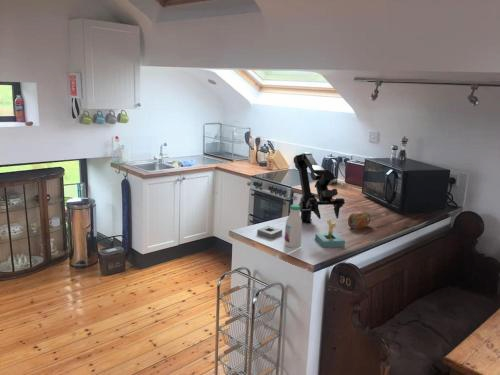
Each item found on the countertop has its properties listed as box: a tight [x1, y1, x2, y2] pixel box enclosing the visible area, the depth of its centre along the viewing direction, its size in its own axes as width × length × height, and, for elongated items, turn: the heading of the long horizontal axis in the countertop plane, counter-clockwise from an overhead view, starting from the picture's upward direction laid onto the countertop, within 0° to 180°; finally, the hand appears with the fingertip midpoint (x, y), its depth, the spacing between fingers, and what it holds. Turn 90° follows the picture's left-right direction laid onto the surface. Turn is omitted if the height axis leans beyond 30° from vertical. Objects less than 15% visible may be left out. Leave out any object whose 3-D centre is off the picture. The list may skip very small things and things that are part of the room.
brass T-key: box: [327, 219, 337, 239], centre depth 211 cm, size 6×2×10 cm, turn 12°
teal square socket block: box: [314, 232, 346, 248], centre depth 212 cm, size 11×11×3 cm
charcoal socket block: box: [256, 225, 283, 240], centre depth 218 cm, size 9×9×3 cm
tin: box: [347, 211, 371, 230], centre depth 237 cm, size 15×3×8 cm, turn 122°
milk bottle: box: [284, 204, 303, 249], centre depth 204 cm, size 8×8×20 cm
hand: (328, 218), depth 213 cm, fingers open, 9 cm apart
